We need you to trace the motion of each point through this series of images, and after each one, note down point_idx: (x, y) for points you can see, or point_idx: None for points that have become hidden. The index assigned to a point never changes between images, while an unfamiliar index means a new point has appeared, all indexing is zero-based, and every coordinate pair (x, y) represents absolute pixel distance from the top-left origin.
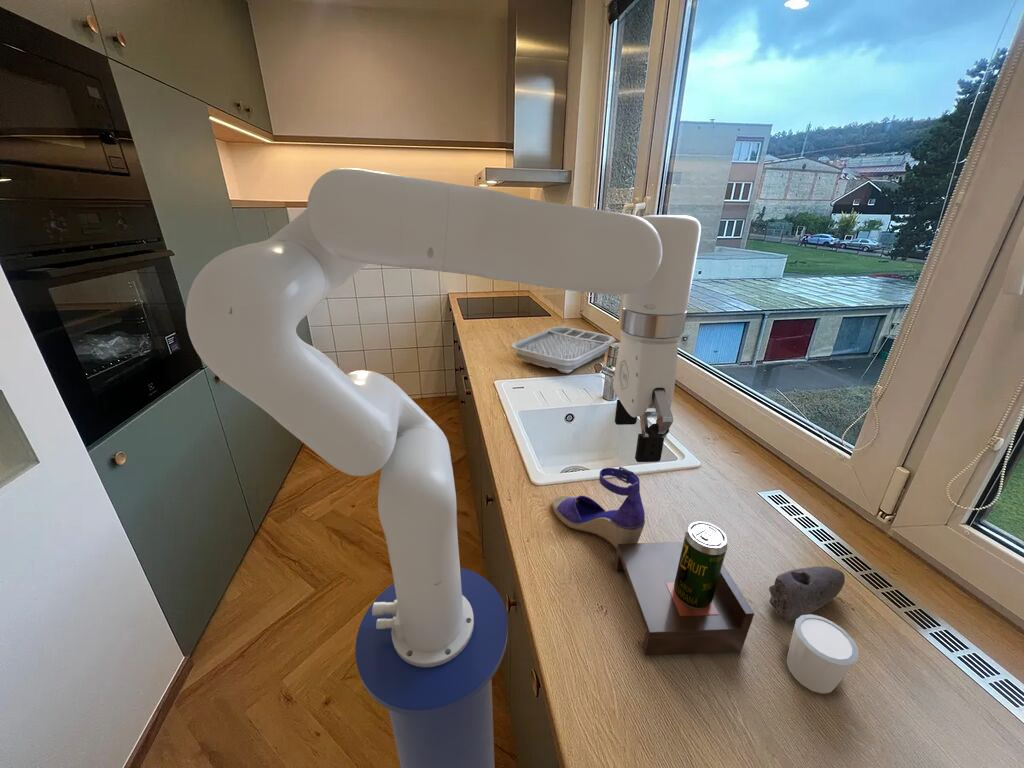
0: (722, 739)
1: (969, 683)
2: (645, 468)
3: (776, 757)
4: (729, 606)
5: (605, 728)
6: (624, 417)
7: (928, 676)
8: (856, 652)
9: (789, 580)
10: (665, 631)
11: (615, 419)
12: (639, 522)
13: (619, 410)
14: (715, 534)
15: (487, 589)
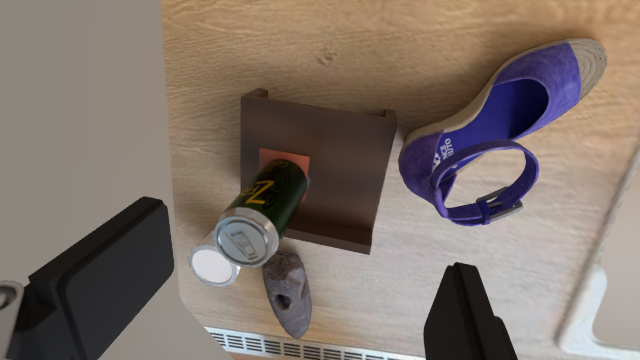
0: (181, 123)
1: (223, 324)
2: (603, 271)
3: (171, 158)
4: None
5: (186, 3)
6: (443, 320)
7: (228, 307)
8: (199, 277)
9: (277, 288)
10: (241, 117)
11: (470, 277)
12: (401, 174)
13: (463, 336)
14: (241, 253)
15: None
